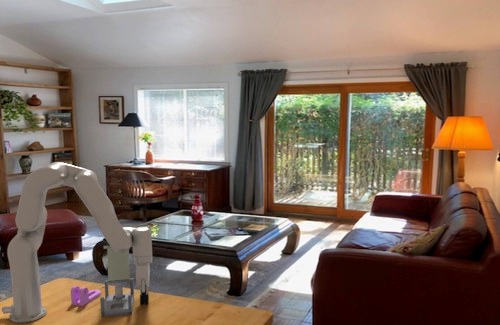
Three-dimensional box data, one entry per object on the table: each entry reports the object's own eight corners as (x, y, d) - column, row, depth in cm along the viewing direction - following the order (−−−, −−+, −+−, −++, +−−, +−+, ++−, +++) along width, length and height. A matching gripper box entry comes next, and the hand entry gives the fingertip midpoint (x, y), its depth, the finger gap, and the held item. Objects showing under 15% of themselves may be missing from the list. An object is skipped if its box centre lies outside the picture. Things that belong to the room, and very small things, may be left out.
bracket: (82, 306, 176) (81, 289, 175) (71, 304, 178) (70, 288, 177) (103, 293, 188) (102, 277, 188) (92, 291, 190) (91, 276, 189)
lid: (103, 246, 180) (103, 246, 181) (104, 284, 179) (104, 283, 180) (132, 244, 182) (132, 244, 183) (133, 281, 182) (133, 281, 183)
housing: (101, 317, 167) (100, 295, 166) (105, 300, 181) (104, 280, 180) (131, 313, 169) (131, 292, 168) (134, 297, 184) (133, 278, 182)
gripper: (134, 252, 184) (136, 294, 186) (131, 266, 168) (133, 312, 170) (152, 251, 185) (154, 293, 188) (152, 264, 170) (153, 310, 172)
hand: (144, 301), depth 179 cm, fingers closed on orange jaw, 3 cm apart
